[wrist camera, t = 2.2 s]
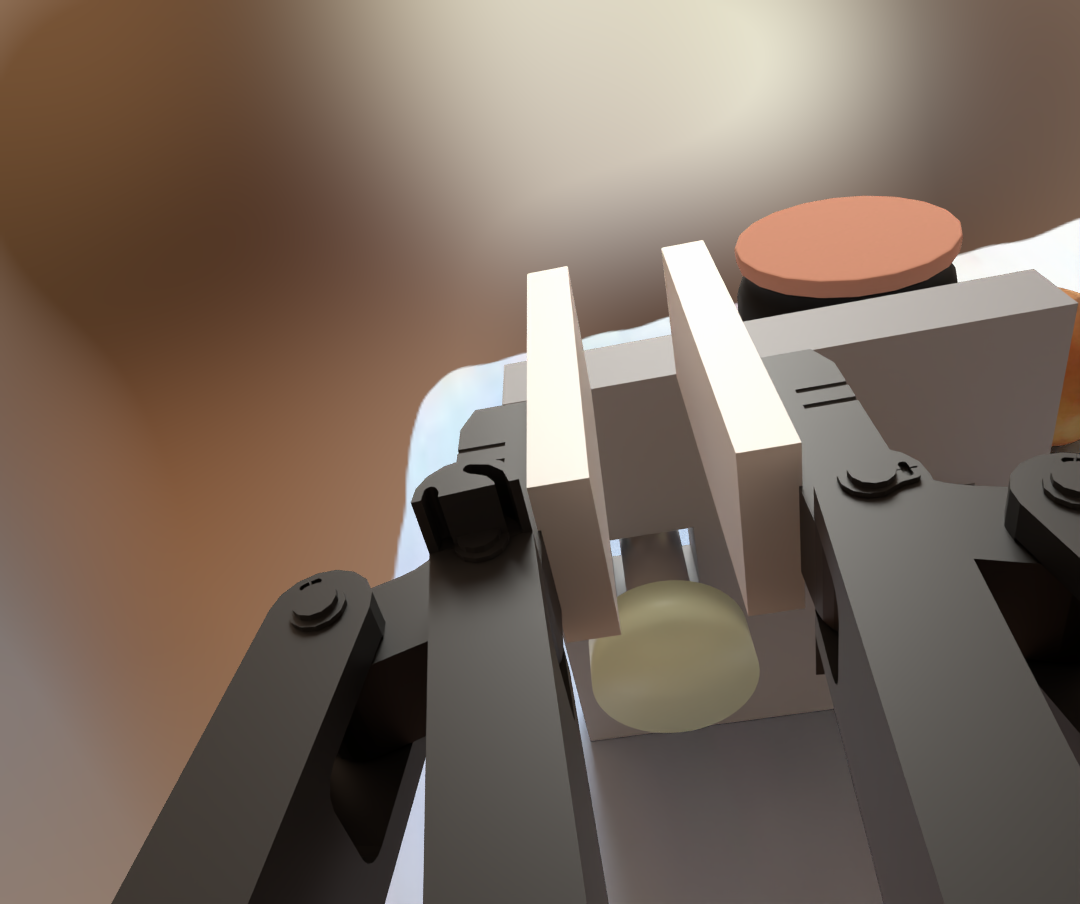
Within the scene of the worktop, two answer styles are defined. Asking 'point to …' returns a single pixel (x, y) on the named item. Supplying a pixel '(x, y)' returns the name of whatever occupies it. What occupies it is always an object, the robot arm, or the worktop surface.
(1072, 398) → the onion
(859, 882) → the worktop surface
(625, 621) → the sage button
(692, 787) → the worktop surface
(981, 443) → the panel
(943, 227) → the coffee jar
